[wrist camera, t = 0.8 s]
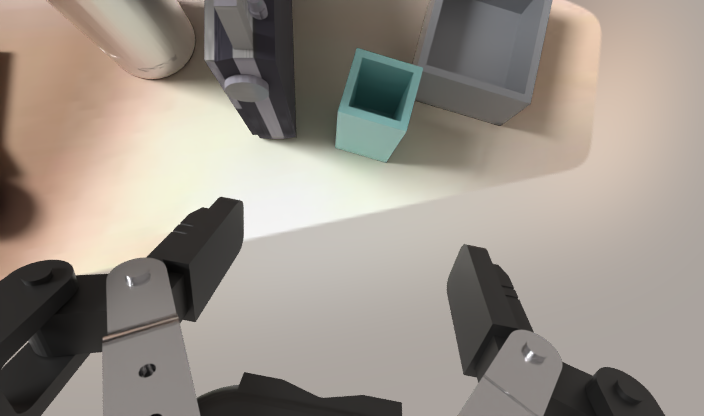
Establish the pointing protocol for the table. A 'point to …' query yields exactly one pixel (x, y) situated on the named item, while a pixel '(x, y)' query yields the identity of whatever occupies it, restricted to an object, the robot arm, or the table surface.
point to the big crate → (481, 56)
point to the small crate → (376, 105)
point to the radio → (254, 61)
